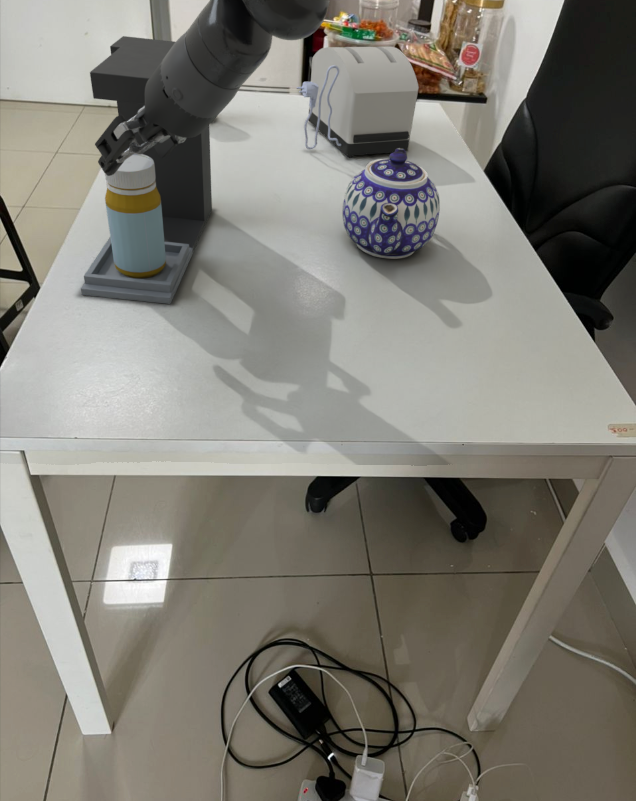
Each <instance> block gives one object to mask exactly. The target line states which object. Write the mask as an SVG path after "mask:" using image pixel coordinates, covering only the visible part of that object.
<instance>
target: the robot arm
mask: <svg viewBox="0 0 636 801" xmlns="http://www.w3.org/2000/svg"><path fill="white" fill-rule="evenodd" d="M330 1H331V0H209V1H208V2H207V4H205V6H204V7H203V9H201V11H200V13H199V14H198V15H197V16H196V18H195V19H194V21H193V22H192V24H191V25H190V26H189V28H188V29H187V30H186V31H185V32H184V33H183V34H182V35H180V37H178V39H177V40H176V41H174V42H175V44H174V45H173V46H172V48H171V49H170V50H169V52H168V53H167V55H166V56H165V57H164V59H163V60H162V61H161V63H160V64H159V66H158V67H157V68H156V70H155V71H154V73H153V74H152V75H151V77H150V78H149V80H148V81H147V83H146V86H145V106H144V107H142V108H141V109H139V111H138V113H137V115H135V116H134V117H132V118H131V119H130V120H128V121H126V120H125V118H124V116H123V115H120V116H118V115H117V116H116V117H114V118H113V119H112V121H111V122H110V124H109V125H108V126H107V127H106V129H105V130H104V131H103V132H102V134H101V135H100V137H99V138H98V139H97V140H96V142H94V146H95V148H96V150H98V152H99V153H100V155H101V156H100V157H99V158H98V160H97V164H98V165H99V167H100V169H101V170H102V172H103V173H104V174H105V173H106V175H107V176H110V175H113V174H115V172H116V171H117V170H118V169H119V167H120V166H121V165H122V164H123V162H124V161H125V160H126V159H127V158H129V157H130V156H132V155H133V154H138V155H141V154H143V153H144V152H146V151H147V150H149V149H150V148H151V147H153V146H154V148H155V149H156V151H157V153H158V154H159V156H160V157H161V158H164V157H166V156H168V155H169V153H170V152H171V151H172V150H173V149H174V148H175V147H176V146H177V144H179V143H183V142H184V141H185V140H186V138H192V137H196V136H197V135H199V134H201V133H202V132H203V131H204V130H205V129H206V128H207V126H208V125H209V126H210V124H212V122H214V121H215V120H216V118H217V117H218V116H219V115H220V114H221V112H222V111H224V109H225V108H226V107H227V106H228V105H229V104H230V103H231V101H232V100H233V99H234V98H235V96H236V95H237V94H238V91H239V90H240V88H241V87H242V86H243V85H244V84H245V82H247V80H249V78H250V77H251V76H252V75H253V74H254V73H255V71H256V70H257V69H258V68H259V67H260V66H261V65H262V64H263V63H264V61H265V60H266V59H267V57H268V55H269V53H270V50H271V48H272V44H273V37H274V38H277V39H279V40H284V41H299V40H302V39H305V38H308V37H310V36H311V35H312V34H314V33H315V32H316V31H317V30H318V29H319V28H320V27H321V26H322V24H323V22H324V21H325V19H326V17H327V14H328V11H329V8H330V3H331V2H330ZM213 120H214V121H213ZM136 132H138V133H139V135H140V137H141V138H142V140H143V141H144V142H145V143H143V144H142V145H139V144H138V142H137V141H136V139H135V137H136V136H135V135H134V133H136ZM128 145H129V149H127V150H126V151H125V152H123V151H124V150H125V149H126V148H127V147H128Z"/></svg>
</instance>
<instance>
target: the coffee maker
mask: <svg viewBox="0 0 636 801" xmlns="http://www.w3.org/2000/svg"><path fill="white" fill-rule="evenodd" d="M175 42H176V41H173V40H163V39H155V38H154V39H153V38H144V37H135V36H125V35H123V36H121V37H120V38H119V39H117V40H116V41H115V42H114V43H112V44H111V45H110V46H109V48H110V55H109V56H108V57H106V58H105V59H104V60H103V61H102V62H100V63H99V64H97V66H96V67H94V68H93V69H92V70H90V71H89V77H90V83H91V84H90V85H91V91H92V98H93V99H94V100H104V101H113V102H116V108H117V116H120V115H123V116H124V118H125V120H126V121H128V120H130V119H131V118H132V117H134V116H135V115H137V113H138V111H139V109H141V108H142V107H144V106H145V86H146V83H147V81H148V80H149V78H150V77H151V75H152V74H153V73H154V71H155V70H156V68H157V67H158V66H159V64H160V63H161V61H162V60H163V59H164V57H165V56H166V55H167V53H168V52H169V50H170V49H171V48H172V46H173V45H174V44H175ZM210 131H211V130H210V124H209V125H208V126H207V128H206V129H205V130H204V131H203V132H202V133H201V134H199V135H197V136H196V137H192V138H186V140H185V141H184V142H183V143H179V144H177V146H176V147H175V148H174V149H173V150H172V151H171V152H170V153H169V155H168V156H166V157H164V158H161V157H160V156H159V154H158V153H157V151H156V149H155V148H154V146H153V147H151V148H150V149H149V150H147V151H146V152H144V153H143V155H146V156H149V157H150V158H152V159H153V161H154V166H155V177H156V178H155V181H156V188H157V190H158V192H159V194H160V198H161V208H162V219H163V231H164V243H165V255H166V265H165V267H164V268H163V269H162V271H161V272H160V273H158V274H157V275H155V276H152V277H149V278H131V277H127V276H125V275H123V274H122V273H121V272H119V271H118V270H117V269H116V267H115V263H114V258H113V251H112V244H111V237H110V236H109V237H108V239H107V241H106V242H105V244H104V245H103V247H102V248H101V249H100V250H99V252H98V254H97V255H96V257H95V258H94V259H93V261H92V263H91V264H90V266H89V267H88V269H87V270H86V272H85V273H84V275H83V280H84V281H83V284H82V285H81V287H80V293H81V295H82V296H90V297H101V298H108V299H109V298H110V299H118V300H119V299H120V300H129V301H136V302H137V301H138V302H147V303H156V304H157V303H158V304H165V305H166V304H167V305H171V304H172V302H173V299H174V298H175V295H176V293H177V291H178V288H179V286H180V283H181V282H182V279H183V277H184V274H185V273H186V270H187V268H188V265H189V264H190V261H191V259H192V256H193V254H194V251H195V250H196V248H197V245H198V243H199V241H200V238H201V236H202V234H203V231H204V229H205V228H206V225H207V222H208V221H209V218H210V216H211V214H212V211H213V199H212V170H211V164H212V163H211V136H210V134H211V133H210ZM134 135H135V136H136V137H135V139H136V141H137V142H138V144H139V145H142V144H143V143H145V142H144V141H143V140H142V138H141V137H140V135H139V133H138V132H136V133H134ZM127 149H129V145H128V147H127V148H126V149H125V150H124V151H123V152H125V151H126V150H127Z"/></svg>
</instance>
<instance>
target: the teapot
mask: <svg viewBox="0 0 636 801" xmlns="http://www.w3.org/2000/svg"><path fill="white" fill-rule="evenodd" d="M428 174H429V173H428V172H427V171H426V169H424V167H422V166H420V165H418V164H416V163H414V162H412V161H408V156H407V151H405V150H404V149H400V148H398V149H396V150H395V152H390V154H389V156H388V158H379V159H373V160H371V161H370V162H368V163H367V164H366V166H365V169H363V170H361V171H360V172H358V173H356V175H355V176H353V178H352V179H351V180H350V182H349V183H348V186H347V187H346V190H345V192H344V196H343V203H342V222H343V227H344V230H345V232H346V234H347V235H348V237H349V238H350V240H352V241H353V242H354V243H355V245H356V246H357V247H358V249H360V250H361V251H362V252H363V253H366V254H367V255H370V256H373V257H377V258H382V259H391V260H392V259H393V260H396V259H397V260H399V259H404V258H408V257H410V256H411V255H413V254H414V253H415V252H417V251H419V250H420V249H422V248H423V247H424V246H426V245H427V244H428V243H429V242H430V240H431V239H432V237H433V236H434V234H435V231H436V228H437V226H438V221H439V217H440V209H441V208H440V207H441V206H440V201H441V200H440V195H439V192H438V189H437V187H436V185H435V183H434V182H433V181H432V180H431V179H430V178H429V176H428Z"/></svg>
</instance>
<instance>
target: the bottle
mask: <svg viewBox="0 0 636 801" xmlns="http://www.w3.org/2000/svg"><path fill="white" fill-rule="evenodd" d="M104 177H105V181H106V192H105V197H104V201H105V208H106V209H105V210H106V216H107V223H108V230H109V238H110V237H111V244H112V251H113V258H114V263H115V267H116V269H117V270H118V271H119V272H121V273H122V274H123V275H125V276H127V277H131V278H149V277H152V276H155V275H157V274H158V273H160V272H161V271H162V269H163V268H164V267H165V265H166V255H165V243H164V231H163V219H162V208H161V198H160V194H159V192H158V190H157V188H156V181H155V178H156V177H155V166H154V161H153V159H152V158H150V157H149V156H146V155H143V154H141V155H138V154H133V155H132V156H130V157H129V158H127V159H126V160H125V161H124V162H123V164H122V165H121V166H120V167H119V169H118V170H117V171H116V172H115V174H113V175H110V176H107V175H106V173H104Z"/></svg>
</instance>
